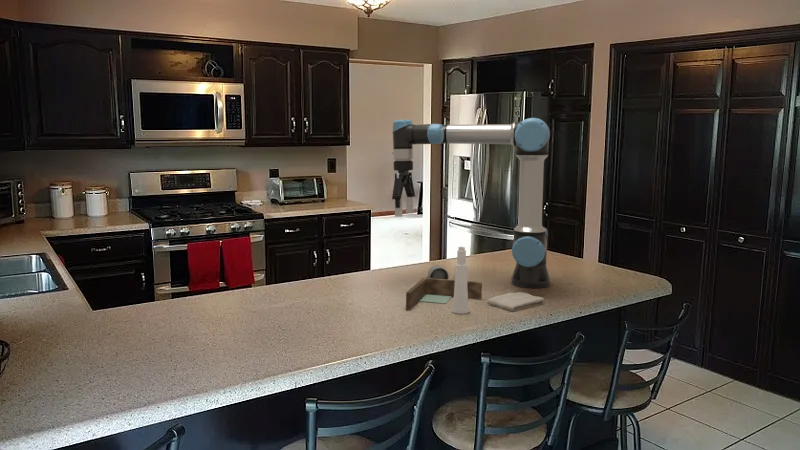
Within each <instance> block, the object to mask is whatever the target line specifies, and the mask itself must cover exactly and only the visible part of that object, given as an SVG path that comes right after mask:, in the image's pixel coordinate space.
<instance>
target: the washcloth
mask: <svg viewBox="0 0 800 450" xmlns="http://www.w3.org/2000/svg"><path fill="white" fill-rule="evenodd" d="M487 304H488V305H489V306H491V307H494V308H495V307H496V308H499V309H502V310H505V311H509V312H511V313H513V312H516V311H522V310H526V309H529V308H534V307H535V306H541V305H544V304H545V298H544V297H541V296H536V295H532V294H529V293H527V292H523V291H517V292H507V293H505V294H500V295H497V296H496V295H495V296H492V297H489V299H488V300H487Z"/></svg>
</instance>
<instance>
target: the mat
mask: <svg viewBox="0 0 800 450" xmlns="http://www.w3.org/2000/svg"><path fill="white" fill-rule="evenodd" d="M452 298H453V297H452V296H442V295H430V294H426V295H425V296H424V297H423V298H422V299H421V300H420V301H419V302H418V303H427V304H428V303H430V304H440V305H441V304H442V305H446V304H447V303H448V302H449V301H450V300H451V299H452Z"/></svg>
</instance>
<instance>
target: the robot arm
mask: <svg viewBox="0 0 800 450" xmlns="http://www.w3.org/2000/svg"><path fill="white" fill-rule="evenodd" d="M550 138H551V129H550V127H549V125H548V123H546V122H545V121H544V120H542V119H540V118H538V117H528V118H526V119H523V120H522V121H514V122H512V123H511V124H510V123H509V124H508V123H505V124H497V123H495V124H492V123H491V124H488V123H487V124H440V123H426V124H424V123H423V124H414V123H413V121H412V120H411V119H396V120H394V121H393V123H392V145H393V148H392V149H393V150H392V155H393V160H394V161H393V171H396V173H394V181H393V182H394V183H393V189H392V196H391V199H392V200H394V217H399V218H401V217H403V199H402V196H403V192H404V191H405V193H406V194H405V195H406V197H405V213H406V214H414V197H416V193H415V188H414V182H413V176H412V175H413V174H412V173H413V172H411V171H413V170H414V162H413V159H414V153H413V152H414V150H413V148H414V147H413V146H414V145H437V144H438V145H440V144H443V145H445V144H446V145H447V144H454V145H458V144H459V145H460V144H462V145H463V144H464V145H466V144H467V145H471V144H472V145H473V144H475V145H477V144H478V145H511V146H512V147H514V148H515V156H516V158H517V159H518V160H519V176H518V177H519V178H518V179H519V180H518V215H517V216H518V217H517V220H518V221H517V222H518V223H517V225H516V226H515V227H514V228H513V244H512V248H511V254H512V257H513V259H514V261H515V267H514V270H513V272H512V275H511V279H510V281H511V282H510V283H511V285H513V286H516V287H520V288H527V289H541V288H543V289H544V288H548V287H550V285H551V278H550V275H549V271H548V268H547V255H548V253H547V252H548V236H549V233H548V229H547V228H546V227H545V226H543V197H544V195H543V194H544V193H543V192H544V169H545V168H544V167H545V166H544V163H545V160H546V159H547V158H548V157H549V144H550V142H549V141H550ZM409 171H410V172H409Z"/></svg>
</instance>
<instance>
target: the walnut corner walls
mask: <svg viewBox="0 0 800 450" xmlns="http://www.w3.org/2000/svg"><path fill="white" fill-rule="evenodd" d="M454 286H455V279H434V278H426V277H422V278H421V279H420V280H419V281H417V283H416V284H414V285H413V286H412V287H411V288H410V289H408V290H407V291H406V292H405V310H406V311H411V310H412V309H413V308H414V307H415V306H416V305H417V304H418V303H420V302H419V301H420V300H421V299H422V298H423V297H424V296H425V295H426V294H430V295H442V296H452V297H451V298H454ZM467 289H468V299H473V300H475V299H476V300H482V298H483V297H482V295H483V294H482V293H483V281H474V280H467Z"/></svg>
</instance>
